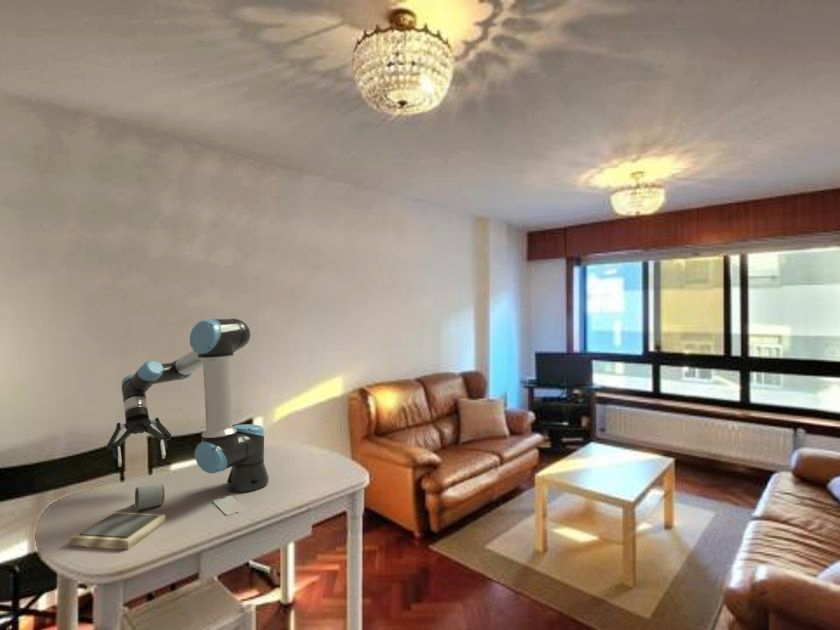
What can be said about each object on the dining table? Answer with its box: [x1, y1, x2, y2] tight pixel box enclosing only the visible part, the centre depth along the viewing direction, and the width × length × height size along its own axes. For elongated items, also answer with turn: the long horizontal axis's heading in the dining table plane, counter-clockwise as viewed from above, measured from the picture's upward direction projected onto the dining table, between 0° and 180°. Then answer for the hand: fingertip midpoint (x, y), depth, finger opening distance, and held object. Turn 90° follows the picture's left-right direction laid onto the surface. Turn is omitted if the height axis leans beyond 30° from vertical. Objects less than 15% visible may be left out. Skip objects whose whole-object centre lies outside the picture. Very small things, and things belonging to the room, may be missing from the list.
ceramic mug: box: [134, 483, 166, 512], centre depth 156 cm, size 11×8×8 cm
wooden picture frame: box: [69, 511, 166, 551], centre depth 137 cm, size 18×16×3 cm
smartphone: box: [211, 494, 238, 516], centre depth 157 cm, size 7×1×15 cm
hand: (142, 460), depth 162 cm, fingers open, 13 cm apart
